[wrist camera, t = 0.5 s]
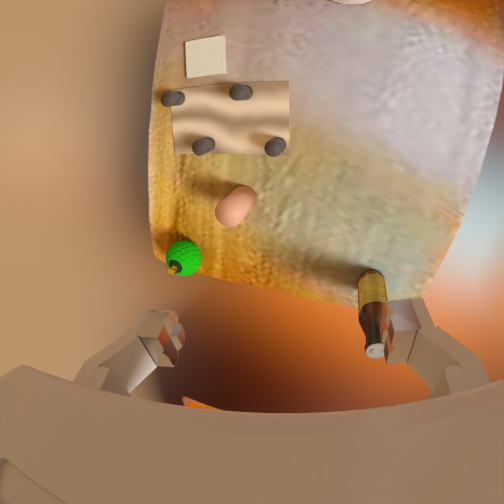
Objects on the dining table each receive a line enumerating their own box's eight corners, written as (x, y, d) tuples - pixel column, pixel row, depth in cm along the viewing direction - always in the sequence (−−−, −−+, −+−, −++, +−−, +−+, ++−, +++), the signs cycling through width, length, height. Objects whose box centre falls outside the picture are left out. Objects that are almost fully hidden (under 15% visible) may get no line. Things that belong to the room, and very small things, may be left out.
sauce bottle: (352, 279, 60) (348, 348, 44) (374, 263, 56) (379, 330, 40) (370, 297, 61) (370, 367, 44) (392, 282, 57) (400, 352, 41)
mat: (187, 42, 44) (185, 41, 44) (225, 35, 42) (223, 35, 42) (188, 78, 48) (186, 78, 48) (226, 73, 46) (224, 73, 46)
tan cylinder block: (232, 184, 58) (213, 199, 50) (256, 186, 56) (240, 201, 49) (233, 207, 60) (216, 225, 53) (256, 209, 59) (242, 228, 51)
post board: (171, 90, 51) (158, 91, 47) (289, 81, 45) (283, 79, 41) (176, 153, 58) (164, 158, 54) (289, 155, 52) (284, 160, 48)
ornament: (171, 246, 70) (149, 267, 62) (189, 227, 66) (166, 248, 58) (194, 269, 72) (174, 293, 64) (213, 252, 68) (194, 276, 59)
